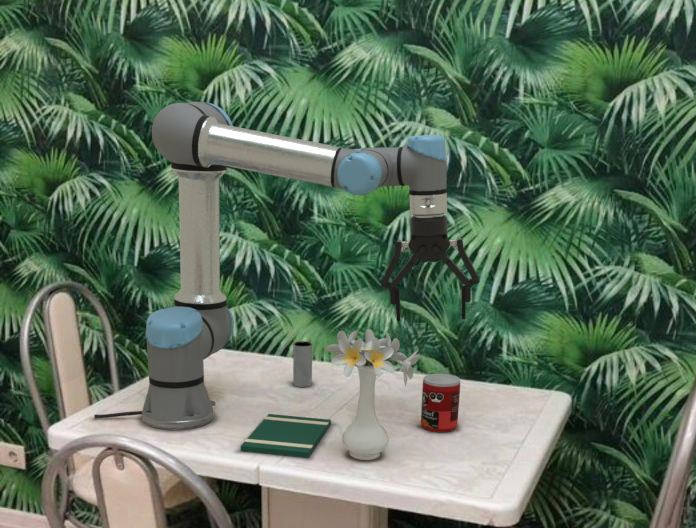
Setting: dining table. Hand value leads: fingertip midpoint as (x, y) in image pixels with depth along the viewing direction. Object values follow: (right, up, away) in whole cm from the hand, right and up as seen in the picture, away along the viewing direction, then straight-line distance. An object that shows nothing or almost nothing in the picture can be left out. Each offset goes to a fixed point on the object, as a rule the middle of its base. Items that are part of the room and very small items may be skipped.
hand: (430, 318), depth 200 cm
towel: (-30, -25, -1) cm, 39 cm away
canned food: (+2, -23, +8) cm, 24 cm away
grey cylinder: (-29, -12, +33) cm, 45 cm away
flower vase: (-13, -29, -9) cm, 33 cm away
